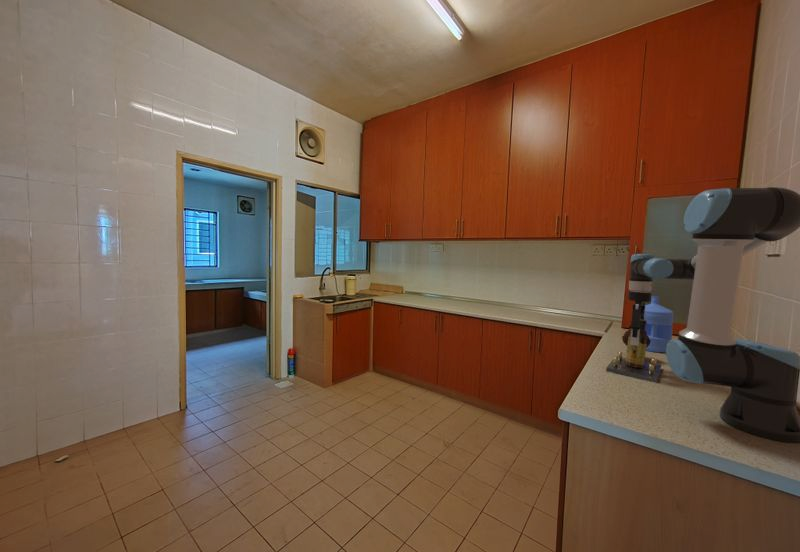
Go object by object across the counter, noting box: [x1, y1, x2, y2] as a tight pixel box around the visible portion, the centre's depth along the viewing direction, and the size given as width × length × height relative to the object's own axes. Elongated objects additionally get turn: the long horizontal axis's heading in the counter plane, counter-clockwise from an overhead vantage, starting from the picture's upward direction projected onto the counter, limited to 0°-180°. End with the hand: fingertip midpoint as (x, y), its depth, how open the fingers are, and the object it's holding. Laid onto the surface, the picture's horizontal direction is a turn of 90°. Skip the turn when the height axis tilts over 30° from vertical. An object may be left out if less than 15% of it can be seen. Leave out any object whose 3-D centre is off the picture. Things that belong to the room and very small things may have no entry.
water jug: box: [644, 295, 675, 354], centre depth 162 cm, size 16×16×28 cm
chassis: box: [605, 351, 662, 384], centre depth 129 cm, size 22×16×5 cm
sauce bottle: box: [625, 319, 647, 368], centre depth 128 cm, size 7×6×20 cm
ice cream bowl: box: [621, 328, 651, 348], centre depth 145 cm, size 11×11×15 cm
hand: (636, 342), depth 128 cm, fingers open, 13 cm apart
